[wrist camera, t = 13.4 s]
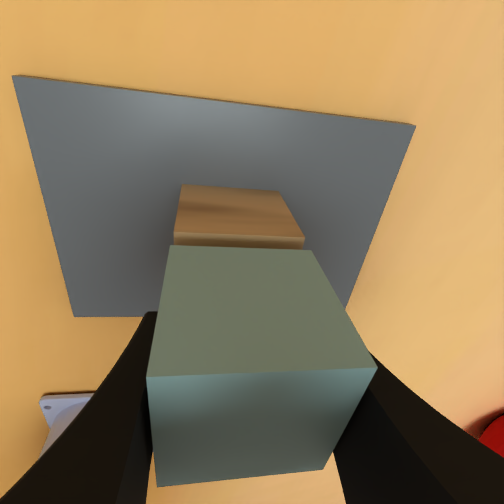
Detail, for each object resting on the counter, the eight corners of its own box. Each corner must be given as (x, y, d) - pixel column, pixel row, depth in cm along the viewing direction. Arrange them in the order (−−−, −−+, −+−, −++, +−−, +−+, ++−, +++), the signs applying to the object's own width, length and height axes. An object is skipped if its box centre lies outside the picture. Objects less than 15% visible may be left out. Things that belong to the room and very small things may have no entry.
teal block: (285, 343, 14) (322, 469, 9) (172, 346, 13) (157, 487, 8) (311, 250, 11) (377, 367, 7) (170, 245, 10) (146, 376, 6)
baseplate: (339, 309, 22) (342, 315, 22) (77, 310, 19) (73, 317, 18) (409, 123, 15) (416, 126, 15) (19, 75, 12) (11, 75, 12)
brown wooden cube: (264, 267, 18) (282, 328, 14) (181, 265, 18) (175, 329, 13) (278, 191, 16) (305, 237, 12) (181, 183, 15) (173, 231, 11)
